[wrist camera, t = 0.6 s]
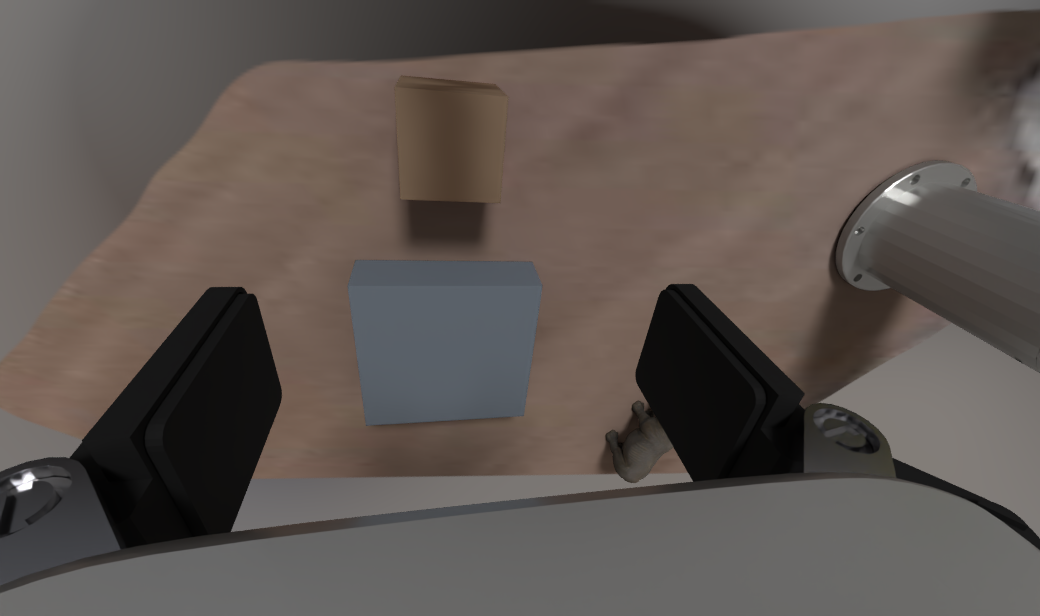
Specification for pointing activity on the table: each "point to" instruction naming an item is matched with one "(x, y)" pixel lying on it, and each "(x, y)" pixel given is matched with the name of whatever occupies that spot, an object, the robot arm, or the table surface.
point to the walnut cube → (450, 139)
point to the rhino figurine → (639, 446)
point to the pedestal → (443, 338)
